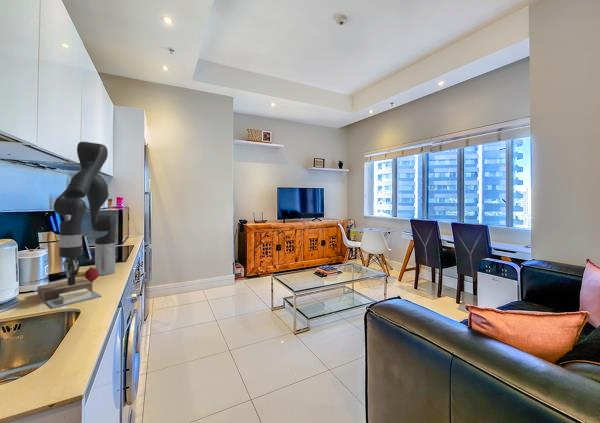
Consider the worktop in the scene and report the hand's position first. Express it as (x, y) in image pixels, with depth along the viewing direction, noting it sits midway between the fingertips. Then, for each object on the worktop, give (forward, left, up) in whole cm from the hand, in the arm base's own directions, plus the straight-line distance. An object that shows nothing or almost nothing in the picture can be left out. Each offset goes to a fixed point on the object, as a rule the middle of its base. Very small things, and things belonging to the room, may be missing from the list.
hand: (71, 284), depth 114 cm
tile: (+5, 0, -2) cm, 5 cm away
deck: (-8, 0, -6) cm, 10 cm away
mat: (+3, 0, -6) cm, 7 cm away
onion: (-19, +13, -6) cm, 24 cm away
